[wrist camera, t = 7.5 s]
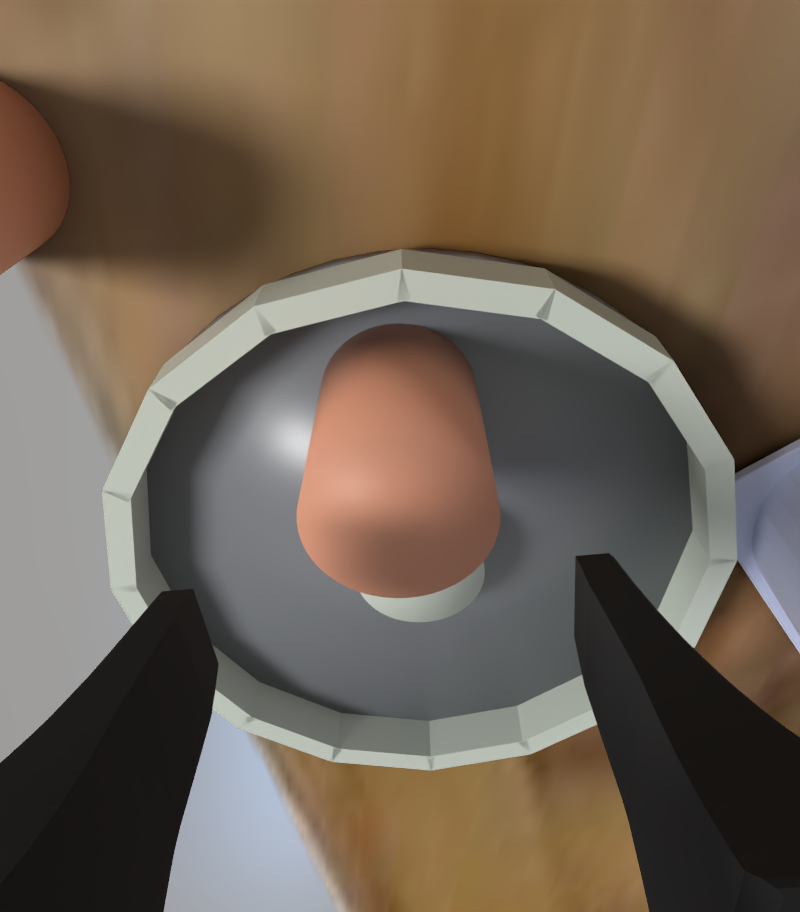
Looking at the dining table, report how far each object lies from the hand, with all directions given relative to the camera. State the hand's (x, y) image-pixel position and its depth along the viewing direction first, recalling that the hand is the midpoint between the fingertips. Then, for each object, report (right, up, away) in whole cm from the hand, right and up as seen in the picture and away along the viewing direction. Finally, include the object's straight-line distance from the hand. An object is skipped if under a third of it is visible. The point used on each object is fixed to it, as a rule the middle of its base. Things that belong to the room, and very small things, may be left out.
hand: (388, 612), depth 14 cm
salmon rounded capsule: (0, +5, +7) cm, 9 cm away
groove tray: (+1, 0, +11) cm, 11 cm away
